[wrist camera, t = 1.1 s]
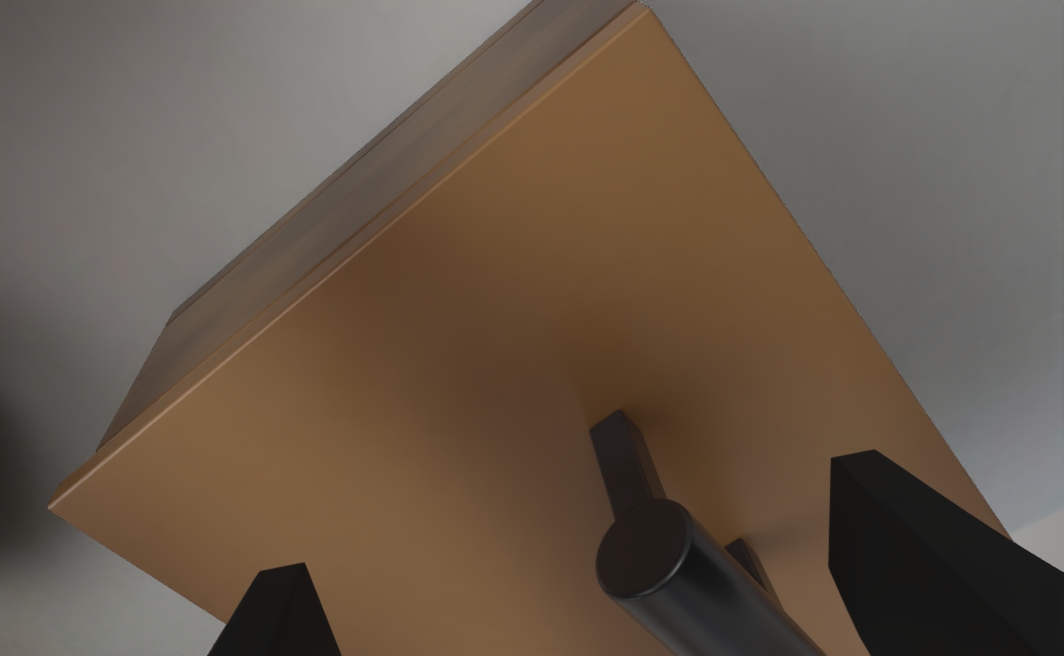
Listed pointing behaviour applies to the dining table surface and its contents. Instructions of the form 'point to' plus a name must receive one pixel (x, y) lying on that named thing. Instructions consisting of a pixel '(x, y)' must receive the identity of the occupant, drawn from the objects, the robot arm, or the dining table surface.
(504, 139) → the brown box
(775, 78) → the dining table surface
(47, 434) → the dining table surface
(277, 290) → the wooden tray
